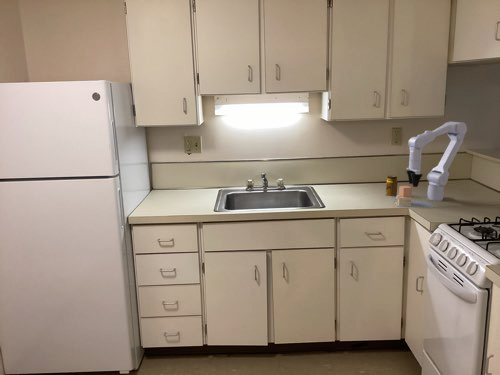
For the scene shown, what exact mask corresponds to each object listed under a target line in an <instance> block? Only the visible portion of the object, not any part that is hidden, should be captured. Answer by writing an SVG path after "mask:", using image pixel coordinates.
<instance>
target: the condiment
mask: <svg viewBox="0 0 500 375" xmlns="http://www.w3.org/2000/svg"><path fill="white" fill-rule="evenodd" d="M385 184H386V185H385V187H386V188H385V196H388V197H397V195H398V176H397V175H387V179H386V183H385Z"/></svg>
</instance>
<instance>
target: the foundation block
mask: <svg viewBox="0 0 500 375" xmlns="http://www.w3.org/2000/svg"><path fill="white" fill-rule="evenodd" d="M395 201H396V203H397V204H398V205H411V201H412V196H411V197H402V196H399V194H397V196H396V200H395Z"/></svg>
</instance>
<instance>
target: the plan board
mask: <svg viewBox="0 0 500 375" xmlns="http://www.w3.org/2000/svg"><path fill="white" fill-rule="evenodd" d="M392 202H393V203H394V204H395V205H396V206H397V207H398V208H435V206H434V205H433V204H431V203H430V202H429V201H419V200H418V201H417V200H414V201H412V200H411V205H398V204H397V203H396V200H392Z"/></svg>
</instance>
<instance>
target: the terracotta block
mask: <svg viewBox="0 0 500 375" xmlns="http://www.w3.org/2000/svg"><path fill="white" fill-rule="evenodd" d="M412 189H413V187H412V186H409V185H399V190H398V192H399V193H398V195H399V196H402V197H411V198H412V193H413V190H412Z"/></svg>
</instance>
